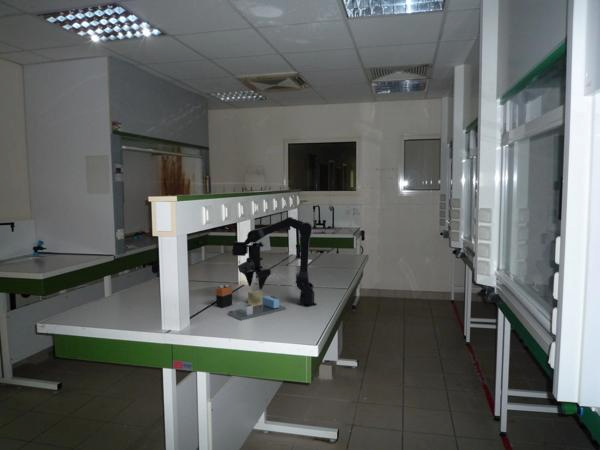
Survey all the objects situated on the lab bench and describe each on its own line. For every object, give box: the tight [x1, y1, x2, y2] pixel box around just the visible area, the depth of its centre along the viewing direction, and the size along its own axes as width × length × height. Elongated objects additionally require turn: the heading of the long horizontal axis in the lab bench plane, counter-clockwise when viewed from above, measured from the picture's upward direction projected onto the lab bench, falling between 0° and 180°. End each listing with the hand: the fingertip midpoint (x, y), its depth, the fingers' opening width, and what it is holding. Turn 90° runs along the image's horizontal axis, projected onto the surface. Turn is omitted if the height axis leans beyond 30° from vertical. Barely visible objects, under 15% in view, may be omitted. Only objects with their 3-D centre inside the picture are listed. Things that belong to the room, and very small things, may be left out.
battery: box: [215, 284, 233, 309], centre depth 200 cm, size 4×7×10 cm, turn 145°
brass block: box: [247, 289, 263, 306], centre depth 203 cm, size 6×4×6 cm, turn 130°
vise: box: [227, 301, 287, 321], centre depth 189 cm, size 24×11×5 cm, turn 130°
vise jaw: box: [262, 295, 280, 308], centre depth 194 cm, size 4×9×4 cm, turn 40°
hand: (255, 287), depth 202 cm, fingers open, 9 cm apart
